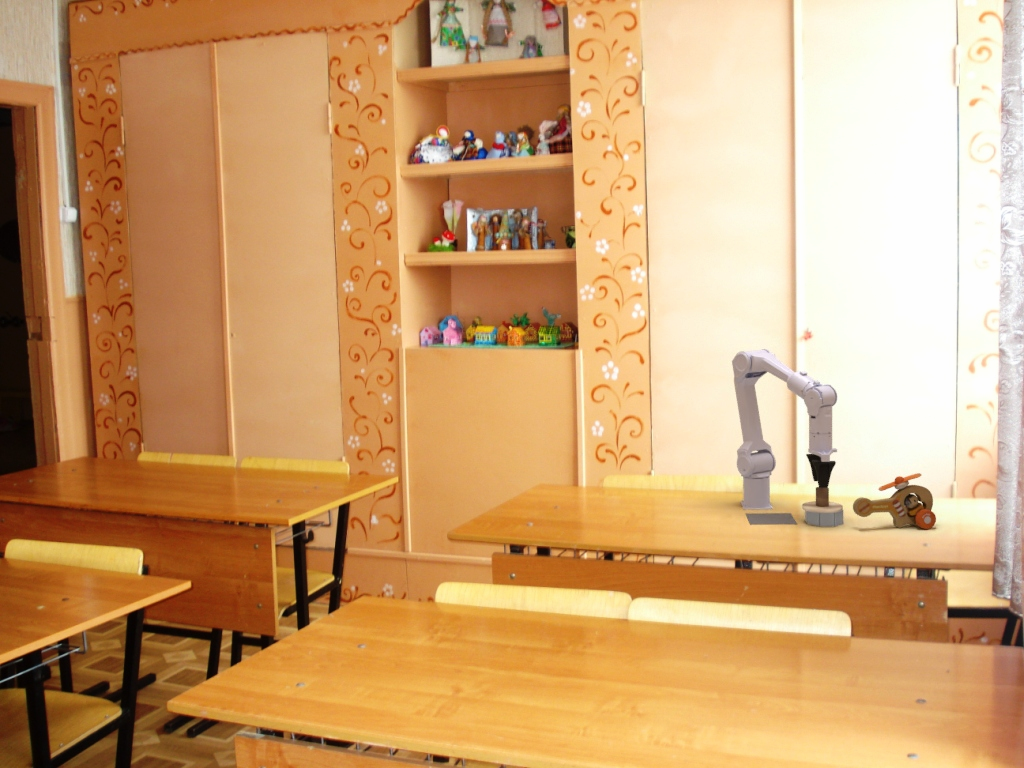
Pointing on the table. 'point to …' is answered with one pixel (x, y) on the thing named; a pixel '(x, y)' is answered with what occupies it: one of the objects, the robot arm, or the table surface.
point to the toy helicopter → (901, 504)
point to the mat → (770, 518)
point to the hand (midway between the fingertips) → (820, 484)
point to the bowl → (824, 519)
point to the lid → (822, 503)
